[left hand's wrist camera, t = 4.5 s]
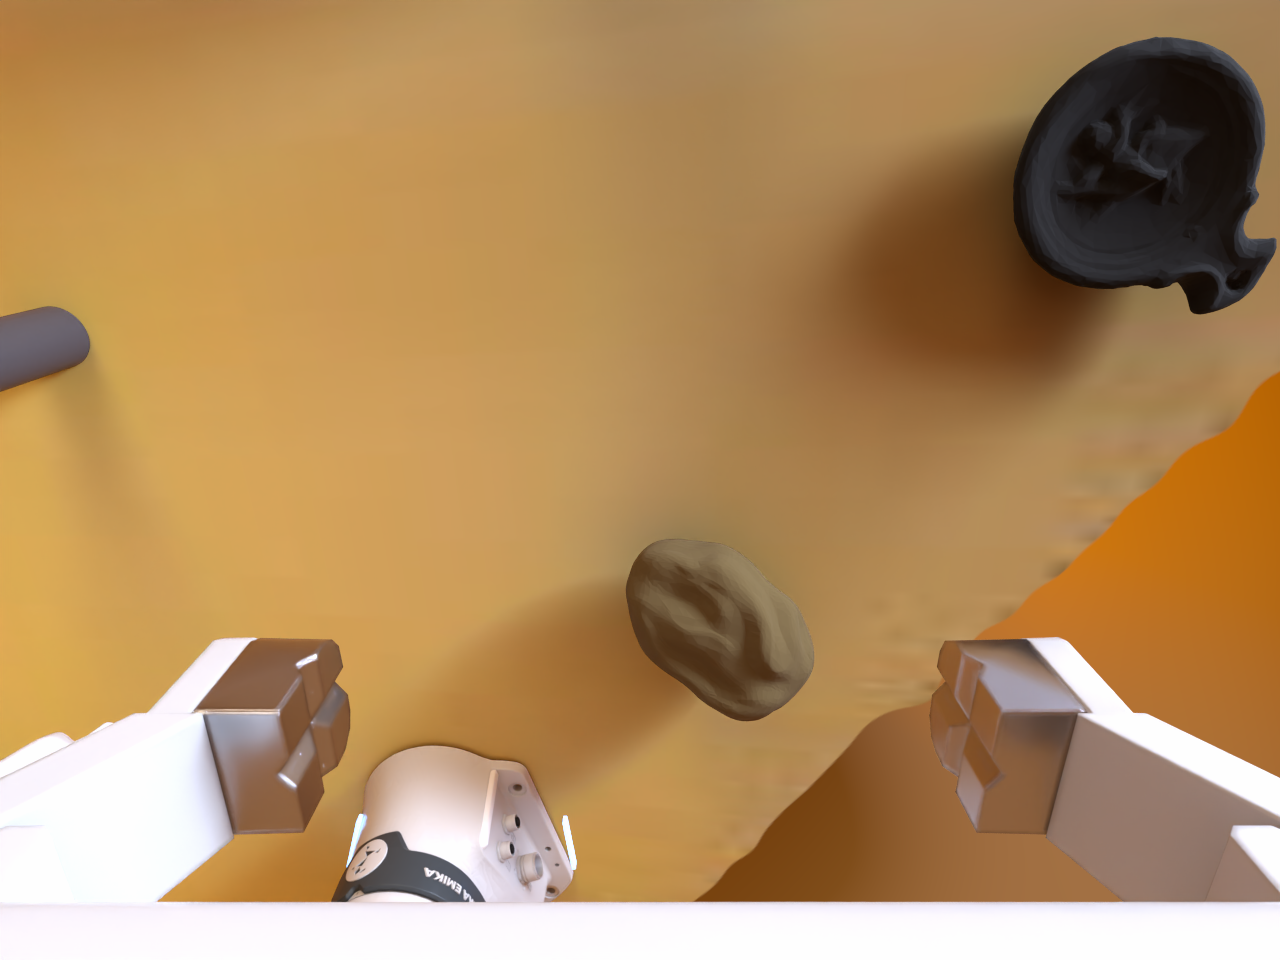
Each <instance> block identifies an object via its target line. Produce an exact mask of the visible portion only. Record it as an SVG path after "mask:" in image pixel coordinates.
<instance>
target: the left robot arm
mask: <svg viewBox="0 0 1280 960" xmlns="http://www.w3.org/2000/svg"><path fill="white" fill-rule="evenodd" d="M342 668H343V664H342V660H341V655H340V650H339V646H338V645H337V644H336V643H335V642H334V641H333V640H329V639H280V638H259V639H257V638H222V639H218V640H214V641H213V642H212V643H211V644H210V645H209V646H208V647H207V648H206V649H205V650H204V651H203V652H202V653H201V655H200V656H199V657H198V658H197V659H196V660H195V661H194V662H193V663H192V664H191V665H190V667H189V668H188V669H187V670H186V671H185V672H184V673H183V674H182V675H181V676H180V677H179V679H178V680H177V681H176V682H175V683H174V684H173V685H172V686H171V687H170V688H169V689H168V691H167V692H166V693H165V694H164V695H163V696H162V697H161V698H160V699H159V700H158V701H157V703H156V704H155V705H154V706H153V707H152V708H151V709H150V710H149V711H148V712H147V713H134V714H132V715H130V716H128V717H126V718H124V719H121V720H119V721H117V722H115V723H113V724H111V725H109V726H107V727H105V728H103V729H101V730H99V731H97V732H95V733H92V734H90V735H88V736H86V737H84V738H82V739H80V740H78V741H76V742H74V743H72V744H70V745H68V746H66V747H63V748H61V749H59V750H57V751H55V752H53V753H51V754H49V755H47V756H45V757H43V758H41V759H39V760H36V761H34V762H32V763H30V764H28V765H26V766H24V767H22V768H20V769H18V770H16V771H14V772H12V773H10V774H7V775H5V776H3V777H1V778H0V960H1280V778H1278V777H1276V776H1274V775H1272V774H1270V773H1268V772H1266V771H1264V770H1262V769H1260V768H1258V767H1256V766H1253V765H1252V764H1249V763H1247V762H1245V761H1243V760H1241V759H1239V758H1237V757H1235V756H1233V755H1231V754H1229V753H1227V752H1225V751H1223V750H1220V749H1218V748H1216V747H1214V746H1212V745H1210V744H1208V743H1206V742H1204V741H1202V740H1200V739H1198V738H1196V737H1194V736H1191V735H1189V734H1187V733H1185V732H1183V731H1181V730H1179V729H1177V728H1175V727H1173V726H1171V725H1169V724H1167V723H1165V722H1163V721H1161V720H1158V719H1156V718H1154V717H1152V716H1150V715H1148V714H1146V713H1133V712H1132V711H1131V710H1130V709H1129V708H1128V707H1127V706H1126V705H1125V704H1124V703H1123V701H1122V700H1121V699H1120V698H1119V697H1118V696H1117V695H1116V694H1115V693H1114V692H1113V691H1112V689H1111V688H1110V687H1109V686H1108V685H1107V684H1106V683H1105V682H1104V681H1103V680H1102V679H1101V677H1100V676H1099V675H1098V674H1097V673H1096V672H1095V671H1094V670H1093V669H1092V668H1091V667H1090V665H1089V664H1088V663H1087V662H1086V661H1085V660H1084V659H1083V658H1082V657H1081V656H1080V654H1079V653H1078V652H1077V651H1076V650H1075V649H1074V648H1073V647H1072V646H1071V645H1070V644H1069V643H1068V642H1067V641H1065V640H1063V639H1061V638H1058V637H1054V638H1026V639H1005V640H956V641H945V642H944V644H943V646H942V648H941V650H940V653H939V659H938V664H937V668H938V670H939V671H940V673H941V675H942V677H943V678H944V680H945V682H944V683H943V685H941V686H940V687H939V688H938V689H937V690H936V691H935V692H934V693H933V694H932V700H931V708H930V715H929V717H930V729H931V738H932V741H933V745H934V748H935V751H936V754H937V756H938V758H939V760H940V762H941V764H942V766H943V767H944V768H946V769H947V770H949V771H950V772H952V773H953V774H955V775H956V776H957V777H958V781H957V787H956V794H957V796H958V798H959V799H960V801H961V803H962V805H963V807H964V809H965V811H966V813H967V815H968V817H969V819H970V821H971V823H972V825H973V827H974V829H975V830H976V832H977V833H1010V834H1047V835H1046V838H1047V839H1048V840H1049V841H1050V842H1052V843H1053V844H1054V845H1055V846H1057V847H1058V848H1059V849H1060V850H1061V851H1063V852H1064V853H1065V854H1066V855H1067V856H1069V857H1070V858H1071V859H1072V860H1074V861H1075V862H1076V863H1077V864H1078V865H1080V866H1081V867H1082V868H1083V869H1084V870H1086V871H1087V872H1088V873H1089V874H1091V875H1092V876H1093V877H1094V878H1095V879H1097V880H1098V881H1099V882H1100V883H1101V884H1103V885H1104V886H1105V887H1106V888H1108V889H1109V890H1110V891H1111V892H1112V893H1114V894H1115V895H1116V896H1117V897H1118V898H1120V899H1121V900H1122V901H1123V902H157V901H158V900H159V899H161V898H162V897H163V896H164V895H165V894H167V893H168V892H169V891H170V890H171V889H173V888H174V887H175V886H176V885H178V884H179V883H180V882H181V881H182V880H184V879H185V878H186V877H187V876H189V875H190V874H191V873H192V872H193V871H195V870H196V869H197V868H198V867H199V866H201V865H202V864H203V863H204V862H206V861H207V860H208V859H209V858H210V857H212V856H213V855H214V854H215V853H217V852H218V851H219V850H220V849H221V848H223V847H224V846H225V845H226V844H227V843H229V842H230V841H231V840H232V839H234V835H233V834H268V833H303V832H304V831H305V829H306V827H307V825H308V823H309V821H310V819H311V817H312V815H313V813H314V811H315V809H316V807H317V805H318V803H319V802H320V800H321V798H322V796H323V794H324V787H323V781H322V777H323V776H324V775H325V774H327V773H328V772H330V771H331V770H333V769H334V768H336V767H337V766H338V764H339V762H340V760H341V758H342V756H343V754H344V751H345V749H346V745H347V740H348V735H349V731H350V706H349V699H348V694H347V693H346V692H345V691H344V690H343V689H342V688H341V687H340V686H339V685H338V684H337V683H336V682H335V680H336V678H337V677H338V675H339V673H340V671H341V670H342Z"/></svg>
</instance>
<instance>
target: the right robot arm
mask: <svg viewBox="0 0 1280 960" xmlns="http://www.w3.org/2000/svg"><path fill="white" fill-rule="evenodd" d="M111 724H113V723H110V722H107V723H104V724H103V725H101V726H100V727H98V728H97V729H96V730H94V731H93V732H92V733H95V732H97V731H99V730H101V729H103V728H105V727H107V726H109V725H111ZM92 733H90V734H92ZM90 734H89V735H90ZM87 736H88V735H87ZM85 737H86V736H85ZM83 738H84V737H83ZM81 739H82V738H81ZM79 740H80V739H79ZM77 741H78V740H77ZM74 742H76V741H73V740H72V739H71V738H70V737H69V736H67V735H66V734H64V733H62V732H57V733H52V734H49V735H47V736H44V737H41V738H39V739H37V740H35V741H33V742H31V743H30V744H28V745H26V746H24V747H23V748H21V749H19V750H18V751H16V752H14V753H13V754H11V755H9V756H8V757H6V758H4V759H2V760H1V761H0V778H1V777H3V776H5V775H7V774H10V773H12V772H14V771H16V770H18V769H20V768H22V767H24V766H26V765H28V764H30V763H32V762H34V761H36V760H39V759H41V758H43V757H45V756H47V755H49V754H51V753H53V752H55V751H57V750H59V749H61V748H63V747H66V746H68V745H70V744H72V743H74ZM515 784H519V785H520V786H518V785H515ZM563 827H564V832H565V837H566V842H567V847H568V852H569V856H570V861H571V864H570V861H569V859H568V857H567V855H566V853H565V851H564V848H563V846H562V844H561V842H560V840H559V838H558V835H557V833H556V831H555V829H554V827H553V825H552V822H551V820H550V818H549V816H548V814H547V812H546V809H545V807H544V805H543V803H542V801H541V799H540V796H539V794H538V792H537V790H536V788H535V786H534V783H533V781H532V779H531V777H530V775H529V773H528V771H527V769H526V767H525V766H523V765H522V764H520V763H517V762H512V761H502V760H490V759H486V758H483V757H481V756H478V755H476V754H473V753H471V752H468V751H465V750H462V749H458V748H453V747H447V746H421V747H415V748H410V749H407V750H404V751H401V752H399V753H396V754H394V755H392V756H391V757H389V758H387V759H386V760H384V761H383V762H382V763H381V764H380V765H379V766H378V767H377V768H376V769H375V770H374V771H373V773H372V774H371V776H370V777H369V779H368V782H367V784H366V788H365V793H364V803H363V811H362V814H360V815H359V817H358V820H357V822H356V826H355V831H354V835H353V840H352V845H351V849H350V854H349V858H348V863H347V868H346V870H345V872H344V874H343V875H342V877H341V879H340V881H339V884H338V886H337V888H336V891H335V893H334V896H333V898H332V901H331V902H551V901H552V900H554V899H555V898H557V897H558V896H559V895H560V894H561V893H562V892H563V891H564V890H565V889H566V888H567V887H568V885H569V884H570V882H571V881H572V877H573V869H576V858H575V853H574V848H573V843H572V838H571V833H570V828H569V823H568V818H567V816H564V817H563Z"/></svg>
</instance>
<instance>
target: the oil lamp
mask: <svg viewBox="0 0 1280 960" xmlns="http://www.w3.org/2000/svg"><path fill="white" fill-rule="evenodd" d="M1264 145H1265V117H1264V110H1263V105H1262V101H1261V98H1260V96H1259V93H1258V91H1257V89H1256V87H1255V85H1254V83H1253V81H1252V79H1251V78H1250V77H1249V75H1248V74H1247V73H1246V72H1245V71H1244V69H1243V68H1242V67H1241V66H1240V65H1239V64H1238V63H1237V62H1236V61H1235V60H1234V59H1232V58H1231V57H1230V56H1229V55H1227V54H1226V53H1224V52H1223V51H1220V50H1218V49H1216V48H1215V47H1213V46H1210V45H1208V44H1205V43H1202V42H1197V41H1193V40H1186V39H1180V38H1171V37H1154V38H1150V39H1147V40H1142V41H1137V42H1133V43H1130V44H1127V45H1124V46H1120V47H1117V48H1115V49H1113V50H1111V51H1109V52H1107V53H1105V54H1104V55H1102V56H1100V57H1099V58H1097V59H1095V60H1094V61H1092V62H1090V63H1089V64H1087V65H1086V66H1085V67H1083V68H1082V69H1080V70H1079V71H1078V72H1077V73H1076V74H1074V75H1073V76H1072V77H1071V78H1069V79H1068V81H1067V82H1066V83H1065V84H1064V85H1063V86H1062V87H1061V88H1060V89H1059V90H1057V91H1056V92H1055V94H1054V95H1053V96H1052V97H1051V98H1050V99H1049V101H1048V102H1047V103H1046V104H1045V106H1044V107H1043V108H1042V110H1041V111H1040V113H1039V114H1038V116H1037V118H1036V119H1035V121H1034V123H1033V125H1032V127H1031V129H1030V132H1029V134H1028V136H1027V139H1026V141H1025V144H1024V146H1023V149H1022V152H1021V155H1020V158H1019V161H1018V165H1017V168H1016V171H1015V176H1014V184H1013V187H1014V193H1013V202H1014V221H1015V224H1016V227H1017V230H1018V233H1019V236H1020V238H1021V240H1022V242H1023V243H1024V245H1025V247H1026V249H1027V251H1028V253H1029V255H1030V256H1031V258H1032V259H1033V260H1034V261H1035V262H1036V263H1037V264H1038V265H1040V266H1041V267H1042V268H1043V269H1044V270H1045V271H1047V272H1048V273H1049V274H1051V275H1052V276H1054V277H1056V278H1058V279H1061V280H1063V281H1066V282H1068V283H1071V284H1073V285H1077V286H1081V287H1089V288H1096V289H1115V288H1121V287H1129V286H1134V285H1143V286H1149V287H1151V288H1155V289H1158V288H1164V287H1168V286H1170V285H1171V284H1172V283H1175V282H1178V283H1179V284H1180V286H1181V287H1182V289H1183V290H1184V292H1185V294H1186V296H1187V300H1188V303H1189V307H1190V310H1191V312H1192V313H1194V314H1206V313H1210V312H1214V311H1217V310H1220V309H1223V308H1225V307H1228V306H1230V305H1232V304H1234V303H1235V302H1237V301H1239V300H1241V299H1242V298H1243V297H1244V296H1246V295H1247V294H1248V293H1249V292H1250V291H1251V290H1252V289H1253V288H1254V286H1255V285H1256V283H1257V282H1258V280H1259V278H1260V277H1261V275H1262V274H1263V272H1264V270H1265V269H1266V267H1267V265H1268V263H1269V262H1270V260H1271V259H1272V257H1273V255H1274V253H1275V250H1276V239H1275V238H1270V239H1249V238H1247V237H1246V235H1245V233H1244V229H1243V225H1244V221H1245V218H1246V215H1247V213H1248V211H1249V209H1250V207H1251V206H1252V205H1254V204H1255V203H1256V201H1257V199H1258V197H1259V193H1258V192H1257V189H1256V187H1255V182H1256V177H1257V174H1258V171H1259V167H1260V163H1261V158H1262V154H1263V150H1264Z"/></svg>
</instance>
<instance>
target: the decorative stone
mask: <svg viewBox="0 0 1280 960" xmlns="http://www.w3.org/2000/svg"><path fill="white" fill-rule="evenodd" d="M626 597H627V602H628V607H629V613H630V618H631V622H632V626H633V629H634V632H635V635H636V637H637V640H638V642H639V644H640V646H641V648H642V650H643V651H644V653H645V654H646V655H647V656H648V657H649V658H650V659H651V660H652V661H653V662H654V663H655V664H656V665H657V666H658V667H660V668H661V669H662V670H664V671H665V672H666V673H668V674H669V675H671V676H672V677H674V678H676V679H677V680H679V681H680V682H681V683H683V684H684V685H685V686H686V687H688V688H689V689H690V690H691V691H692V692H693V693H694V694H695V695H696V696H697V697H698V698H699V699H700V700H702V701H703V702H705V703H706V704H707V705H709V706H710V707H712V708H714V709H715V710H717V711H719V712H721V713H722V714H724V715H726V716H728V717H730V718H732V719H735V720H739V721H754V720H759V719H761V718H763V717H765V716H767V715H769V714H770V713H772V712H773V711H775V710H777V709H779V708H781V707H782V706H783V705H785V704H786V703H787V702H788V701H789V700H790V699H791V698H792V697H794V696H795V694H796V693H797V692H798V691H799V690H800V689H801V688H802V686H803V685H804V684H805V682H806V681H807V679H808V678H809V676H810V674H811V672H812V669H813V664H814V648H813V643H812V639H811V636H810V633H809V631H808V628H807V626H806V623H805V621H804V618H803V616H802V614H801V612H800V610H799V608H798V607H797V605H796V604H795V603H794V602H793V601H792V600H791V599H790V598H789V597H788V596H786V595H785V594H784V593H782V592H781V591H779V590H778V589H777V588H775V587H774V586H773V585H772V584H771V583H770V582H769V581H768V580H767V579H766V578H765V577H764V576H763V575H762V574H761V572H760V571H759V570H758V569H757V568H756V567H755V566H754V564H752V563H751V562H750V561H749V560H748V559H747V558H746V557H744V556H743V555H741V554H740V553H739V552H737V551H735V550H734V549H732V548H730V547H728V546H726V545H723V544H719V543H711V542H702V541H691V540H683V539H669V540H661V541H657V542H655V543H653V544H651V545H649V546H648V547H647V548H645V549H644V550H643V551H642V552H641V553H640V554H639V556H638V557H637V559H636V560H635V562H634V564H633V566H632V569H631V572H630V575H629V578H628V581H627V585H626Z"/></svg>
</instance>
